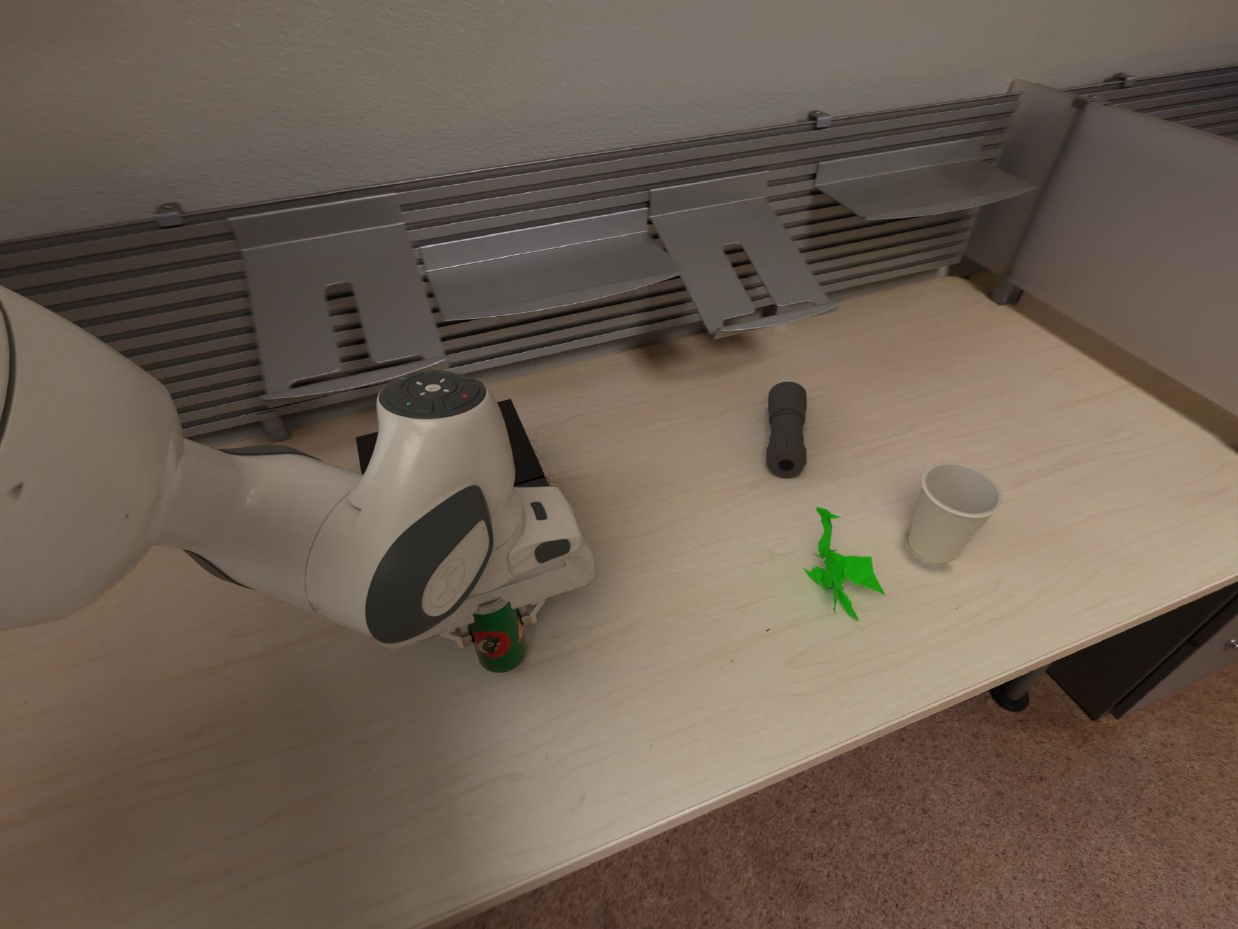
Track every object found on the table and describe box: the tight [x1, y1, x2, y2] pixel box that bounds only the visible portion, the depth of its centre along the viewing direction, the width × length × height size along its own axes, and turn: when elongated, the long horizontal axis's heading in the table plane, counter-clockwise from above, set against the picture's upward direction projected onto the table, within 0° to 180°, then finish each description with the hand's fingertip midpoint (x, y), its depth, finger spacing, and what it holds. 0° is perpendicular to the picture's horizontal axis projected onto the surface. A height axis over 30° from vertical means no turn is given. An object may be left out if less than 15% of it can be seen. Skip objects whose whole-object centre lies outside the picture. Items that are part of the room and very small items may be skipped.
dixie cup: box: [907, 461, 1004, 564], centre depth 74 cm, size 8×8×10 cm
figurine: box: [802, 506, 886, 622], centre depth 71 cm, size 6×12×9 cm, turn 21°
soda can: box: [467, 597, 528, 674], centre depth 62 cm, size 5×5×12 cm
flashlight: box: [765, 379, 808, 479], centre depth 90 cm, size 15×5×5 cm, turn 169°
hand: (497, 629), depth 63 cm, fingers closed on soda can, 5 cm apart
